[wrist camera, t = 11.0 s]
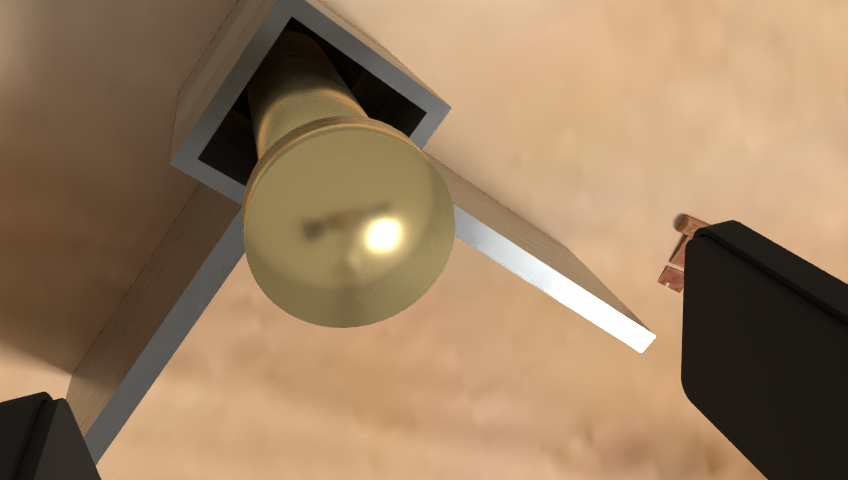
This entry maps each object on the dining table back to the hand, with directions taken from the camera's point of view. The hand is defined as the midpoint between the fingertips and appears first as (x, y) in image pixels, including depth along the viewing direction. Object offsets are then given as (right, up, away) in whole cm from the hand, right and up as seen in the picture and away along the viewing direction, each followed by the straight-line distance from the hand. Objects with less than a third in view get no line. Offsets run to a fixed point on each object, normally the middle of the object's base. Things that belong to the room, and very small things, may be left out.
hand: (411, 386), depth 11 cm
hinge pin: (-5, +8, +15) cm, 18 cm away
